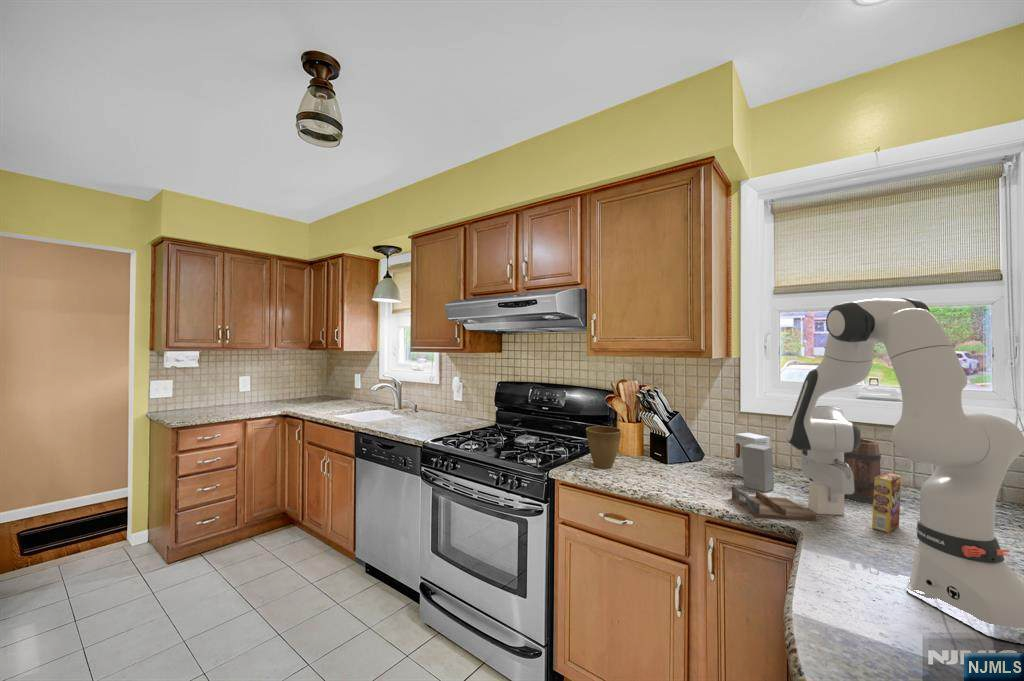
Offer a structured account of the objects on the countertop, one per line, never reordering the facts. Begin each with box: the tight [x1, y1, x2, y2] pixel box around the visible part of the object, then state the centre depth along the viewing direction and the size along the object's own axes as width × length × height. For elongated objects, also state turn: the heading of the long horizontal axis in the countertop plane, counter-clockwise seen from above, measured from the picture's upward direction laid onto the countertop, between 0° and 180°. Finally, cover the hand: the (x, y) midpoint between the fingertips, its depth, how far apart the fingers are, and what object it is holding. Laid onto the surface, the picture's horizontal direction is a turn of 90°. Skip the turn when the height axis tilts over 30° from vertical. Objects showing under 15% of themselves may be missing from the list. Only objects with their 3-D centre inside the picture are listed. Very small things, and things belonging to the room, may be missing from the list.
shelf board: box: [731, 485, 817, 521], centre depth 139 cm, size 16×18×4 cm
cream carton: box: [808, 480, 845, 516], centre depth 138 cm, size 5×8×9 cm, turn 86°
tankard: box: [808, 438, 882, 505], centre depth 155 cm, size 24×17×20 cm
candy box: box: [871, 472, 902, 534], centre depth 126 cm, size 9×4×15 cm, turn 123°
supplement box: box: [733, 432, 771, 478], centre depth 174 cm, size 10×9×17 cm
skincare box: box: [742, 444, 775, 493], centre depth 160 cm, size 8×7×16 cm
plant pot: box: [585, 425, 622, 470], centre depth 184 cm, size 15×15×16 cm
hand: (826, 498), depth 138 cm, fingers closed on cream carton, 5 cm apart
